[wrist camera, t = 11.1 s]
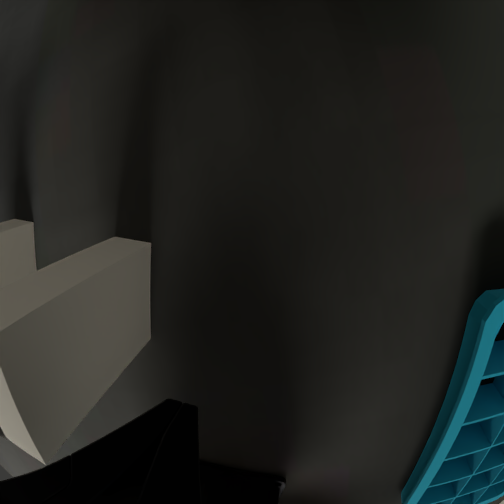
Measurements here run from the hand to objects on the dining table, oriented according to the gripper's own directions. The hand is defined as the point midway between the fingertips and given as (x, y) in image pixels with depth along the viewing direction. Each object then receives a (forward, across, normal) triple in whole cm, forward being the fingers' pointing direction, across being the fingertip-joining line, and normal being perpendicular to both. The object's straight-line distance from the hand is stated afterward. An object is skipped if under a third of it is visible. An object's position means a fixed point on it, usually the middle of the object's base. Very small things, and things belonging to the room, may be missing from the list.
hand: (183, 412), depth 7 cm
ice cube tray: (+7, -18, +5) cm, 20 cm away
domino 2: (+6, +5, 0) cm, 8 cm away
